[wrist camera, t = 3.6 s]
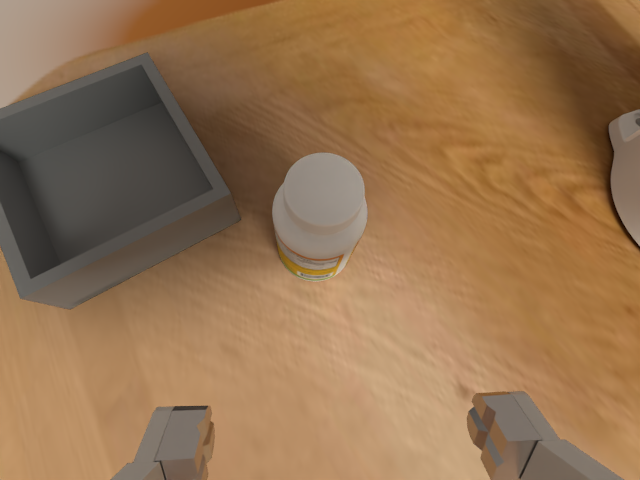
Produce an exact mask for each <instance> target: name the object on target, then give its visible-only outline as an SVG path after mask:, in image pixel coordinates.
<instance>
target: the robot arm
mask: <svg viewBox="0 0 640 480" xmlns="http://www.w3.org/2000/svg"><path fill="white" fill-rule="evenodd" d="M609 135H610V139H611V143H612V146H613V149H614V160H613V165H612V170H611V190H612V196H613V200H614V203H615V206H616V209H617V211H618V214H619V216H620V218H621V220H622V222H623V224H624V225H625V227H626V229H627V230H628V232H629V233H630V235H631V236H632V237H633V239H634V240H635V241H636V242H637V243H638V245H639V246H640V109H638V110H635V111H632V112H629V113H626V114H623V115H621V116H620V117H618V118H616V119H615V120H613V121H612V122H611V123H610V124H609ZM472 403H473V405H474V407H473V408H472V409H471V410H470V411H469V412H468V416H467V427H468V431H469V434H470V437H471V439H472V441H473V444H475V445H476V446H477V447H478V448H479V449H481V450H482V453H481V460H482V462H483V464H484V467H485V469H486V471H487V473H488V475H489V477H490V479H491V480H624V479H622V478H621V477H619V476H618V475H616V474H615V473H614V472H612V471H611V470H609V469H608V468H606V467H605V466H603V465H602V464H600V463H599V462H597V461H596V460H594V459H593V458H592V457H590V456H589V455H587V454H586V453H584V452H583V451H581V450H580V449H578V448H577V447H575V446H574V445H573V444H571V443H570V442H568V441H567V440H565V439H564V440H560V438H559V437H558V436H557V434H556V433H555V431H554V430H553V429H552V427H551V426H550V424H549V423H548V422H547V420H546V419H545V417H544V416H543V415H542V413H541V412H540V411H539V409H538V408H537V406H536V405H535V404H534V402H533V401H532V399H531V398H530V397H529V395H528V394H527V393H525V392H524V391H516V392H490V393H476V394H475V395H474V396H473V399H472ZM211 415H212V411H211V407H210V406H169V407H157V408H156V409H155V411H154V412H153V414H152V417H151V419H150V422H149V424H148V427H147V429H146V432H145V434H144V437H143V439H142V442H141V444H140V446H139V449H138V451H137V454H136V456H135V459H134V461H133V463H127V464H126V465H125V466H124V467H123V468H122V469H121V470H120V471H119V472H118V473H117V474H116V475H115V476H114V477H113V478H112V479H110V480H207V478H208V469H207V463H208V462H209V460H210V459H211V458H212V454H213V448H214V439H215V430H214V423H213V422H211V421H210V420H211Z"/></svg>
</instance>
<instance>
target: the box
mask: <svg viewBox="0 0 640 480" xmlns="http://www.w3.org/2000/svg"><path fill="white" fill-rule="evenodd" d="M240 220H241V217H240V215H239V212H238V210H237V207H236V205H235V202H234V200H233V197H232V194H231V192H230V191H229V189H228V187H227V186H226V184H225V182H224V181H223V179H222V177H221V175H220V174H219V172H218V170H217V169H216V167H215V165H214V164H213V162H212V160H211V159H210V157H209V155H208V154H207V152H206V150H205V148H204V147H203V145H202V143H201V142H200V140H199V138H198V137H197V135H196V133H195V132H194V130H193V128H192V127H191V125H190V123H189V121H188V120H187V118H186V116H185V115H184V113H183V111H182V110H181V108H180V106H179V105H178V103H177V101H176V99H175V98H174V96H173V94H172V93H171V91H170V89H169V88H168V86H167V84H166V83H165V81H164V79H163V78H162V76H161V74H160V72H159V71H158V69H157V67H156V66H155V64H154V62H153V61H152V59H151V57H150V56H149V54H148V52H147V53H145V54H142V55H139V56H137V57H134V58H132V59H129V60H126V61H124V62H121V63H119V64H116V65H113V66H111V67H108V68H105V69H103V70H100V71H98V72H95V73H92V74H90V75H87V76H85V77H82V78H79V79H77V80H74V81H71V82H69V83H66V84H64V85H61V86H58V87H56V88H53V89H51V90H48V91H45V92H43V93H40V94H38V95H35V96H32V97H30V98H27V99H24V100H22V101H19V102H17V103H14V104H11V105H9V106H6V107H4V108H1V109H0V246H1V249H2V251H3V254H4V257H5V259H6V262H7V265H8V267H9V270H10V272H11V275H12V278H13V280H14V283H15V286H16V288H17V291H18V294H19V296H20V299H24V300H29V301H33V302H38V303H43V304H47V305H52V306H56V307H61V308H66V309H72V308H74V307H76V306H77V305H79V304H81V303H83V302H85V301H87V300H89V299H91V298H93V297H95V296H97V295H98V294H100V293H102V292H104V291H106V290H108V289H110V288H112V287H114V286H116V285H118V284H120V283H121V282H123V281H125V280H127V279H129V278H131V277H133V276H135V275H137V274H139V273H141V272H142V271H144V270H146V269H148V268H150V267H152V266H154V265H156V264H158V263H160V262H162V261H164V260H165V259H167V258H169V257H171V256H173V255H175V254H177V253H179V252H181V251H183V250H185V249H186V248H188V247H190V246H192V245H194V244H196V243H198V242H200V241H202V240H204V239H206V238H207V237H209V236H211V235H213V234H215V233H217V232H219V231H221V230H223V229H225V228H227V227H229V226H230V225H232V224H234V223H236V222H238V221H240Z"/></svg>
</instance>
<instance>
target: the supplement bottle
mask: <svg viewBox="0 0 640 480" xmlns="http://www.w3.org/2000/svg"><path fill="white" fill-rule="evenodd" d="M364 195H365V187H364V182H363V179H362V176H361V174H360V173H359V171H358V170H357V168H356V167H355V166H354V165H353V164H352V163H351V162H350V161H348V160H347V159H345V158H343V157H341V156H339V155H336V154H332V153H314V154H310V155H307V156H305V157H303V158H301V159H299V160H298V161H297V162H296V163H295V164H293V166H292V167H291V168H290V169H289V171H288V173H287V175H286V177H285V180H284V183H283V184H282V185H281V186H280V188H279V189H278V191H277V193H276V195H275V198H274V202H273V207H272V216H273V224H274V229H275V235H276V241H277V247H278V252H279V256H280V258H281V260H282V262H283V264H284V266H285V267H286V268H287V269H288V271H289V272H291V273H292V274H293V275H295V276H296V277H298V278H301V279H303V280H307V281H324V280H327V279H330V278H332V277H334V276H335V275H337V274H338V273H339V272H340V271H341V270H342V269H343V268H344V267H345V265H346V264H347V262H348V261H349V259H350V257H351V255H352V253H353V251H354V249H355V247H356V246H357V244H358V242H359V240H360V238H361V236H362V234H363V232H364V229H365V226H366V222H367V216H368V211H367V204H366V200H365V197H364Z"/></svg>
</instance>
